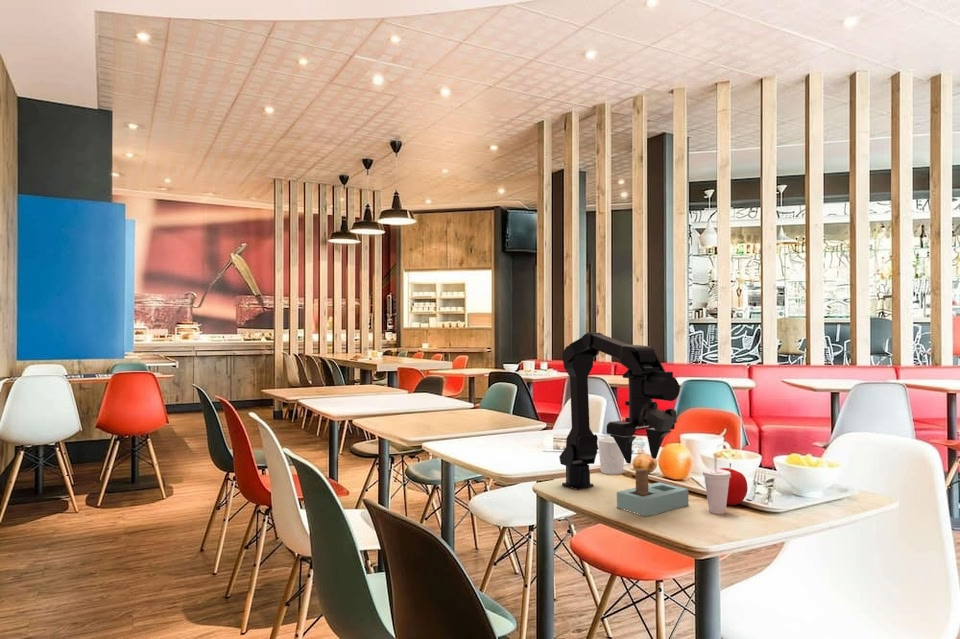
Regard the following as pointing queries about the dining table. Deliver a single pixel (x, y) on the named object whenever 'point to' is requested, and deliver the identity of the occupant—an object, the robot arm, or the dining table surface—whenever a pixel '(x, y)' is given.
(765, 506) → the dining table surface
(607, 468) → the white cup
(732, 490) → the fruit
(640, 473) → the peg
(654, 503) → the hole block
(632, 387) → the robot arm
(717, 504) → the smoothie
